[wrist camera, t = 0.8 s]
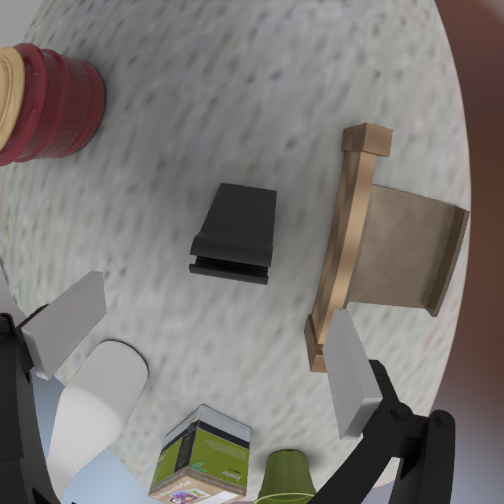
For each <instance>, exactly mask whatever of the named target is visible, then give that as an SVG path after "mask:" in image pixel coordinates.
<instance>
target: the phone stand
mask: <svg viewBox="0 0 504 504" xmlns="http://www.w3.org/2000/svg"><path fill="white" fill-rule="evenodd" d="M276 192H277V191H271V190H265V189H258V188H251V187H245V186H238V185H230V184H223V183H221V185H220V187H219V190H218V192H217V194H216V196H215V199H214V201H213V203H212V205H211V208H210V210H209V212H208V214H207V217H206V219H205V221H204V224H203V226H202V228H201V231H200V232H199V234H198V235H196V236H195V238H194V240H193V243H192V247H191V251H190V255H196V256H197V258H196V262H195V264H190V265H189V270H190V272H191V273H196V274H202V275H207V276H213V277H219V278H226V279H232V280H238V281H244V282H251V283H257V284H263V285H267V282H268V276H267V273H268V267H270V266H271V259H272V250H273V247H272V241H273V229H274V217H275V205H276Z"/></svg>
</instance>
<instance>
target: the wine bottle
mask: <svg viewBox="0 0 504 504" xmlns="http://www.w3.org/2000/svg"><path fill="white" fill-rule="evenodd" d="M147 378H148V370H147V367H146V364H145V362H144V360H143V359H142V358H141V356H140V355H139V354H138V353H137V352H136V351H135V350H133V349H132V348H131V347H129V346H127V345H125V344H123V343H120V342H117V341H106V342H103V343H101V344H99V345H98V346H97V347H96V348H95V349H94V350H93V352H92V353H91V354H90V356H89V357H88V358H87V359H86V361H85V362H84V363H83V365H82V366H81V367H80V369H79V370H78V371H77V373H76V374H75V375H74V376H73V378H72V379H71V380H70V382H69V383H68V385H67V386H66V387H65V389H64V390H63V392H62V394H61V397H60V401H59V404H58V408H57V413H56V418H55V423H54V429H53V434H52V439H51V445H50V451H49V455H48V459H47V462H46V465H47V469H48V473H49V477H50V480H51V484H52V487H53V490H54V492H55V494H56V496H57V498H58V499H59V501H60V500H61V498H62V496H63V494H64V492H65V490H66V488H67V486H68V484H69V482H70V481H71V479H72V478H73V476H74V475H75V474H76V473H77V472H78V471H79V470H80V469H81V468H82V467H84V466H85V465H86V464H87V463H88V462H90V461H91V460H92V459H93V458H94V457H95V456H97V455H98V454H99V453H100V452H101V451H103V450H104V449H105V448H106V447H107V446H109V445H110V444H111V443H112V442H113V441H114V440H115V439H116V438H117V437H118V436H119V435H120V434H121V433H122V431H123V429H124V427H125V425H126V423H127V421H128V419H129V417H130V415H131V413H132V410H133V408H134V406H135V404H136V402H137V400H138V398H139V396H140V394H141V392H142V390H143V388H144V386H145V384H146V382H147Z"/></svg>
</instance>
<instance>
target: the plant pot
mask: <svg viewBox="0 0 504 504" xmlns="http://www.w3.org/2000/svg"><path fill="white" fill-rule="evenodd" d="M315 494H316V489H315V488H314V486H313V483H312V479H311V475H310V472H309V468H308V464H307V461H306V458H305V455H304V454H303V453H301V452H299V451H295V450H293V451H286V450H283V451H278V452H275V453H273V454H272V455H270V457H269V459H268V462H267V467H266V471H265V475H264V479H263V483H262V487H261V490H260V492H259V495H258V498H257V499H256V500H255V501H254V504H306V503H307V502H308V501H309V500H310V499H311V498H312V497H313V496H314V495H315Z"/></svg>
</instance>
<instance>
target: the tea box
mask: <svg viewBox="0 0 504 504" xmlns="http://www.w3.org/2000/svg"><path fill="white" fill-rule="evenodd" d="M250 430H251V428H250V427H248V426H246V425H244V424H242V423H240V422H238V421H236V420H234V419H231V418H229V417H227V416H225V415H223V414H221V413H219V412H217V411H215V410H213V409H211V408H209V407H207V406H205V405H201V406H200V407H199V408H198V409H197V410H196V411H195V412H194V413H193V414H191V415H190V416H189V417H188V418H187V419H186V420H185V421H183V422H182V423H181V424H180V425H179V426H178V427H176V428H175V429H174V430H173V431H172V432H171V433H169V434H168V435H167V436H166V437H165V440H164V443H163V447H162V451H161V453H160V457H159V460H158V463H157V467H156V470H155V474H154V477H153V480H152V484H151V487H150V491H149V494H148V496H150V497H152V498H154V499H157V500H160V501H162V502H165V503H167V504H229V503H232V502H234V501H237V500H238V499H241V498H244V497H246V491H247V474H248V460H249V445H250Z"/></svg>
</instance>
